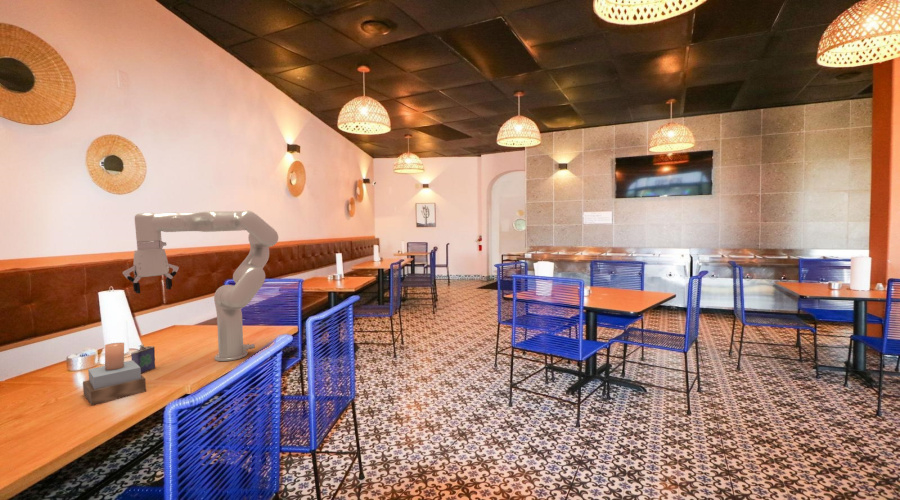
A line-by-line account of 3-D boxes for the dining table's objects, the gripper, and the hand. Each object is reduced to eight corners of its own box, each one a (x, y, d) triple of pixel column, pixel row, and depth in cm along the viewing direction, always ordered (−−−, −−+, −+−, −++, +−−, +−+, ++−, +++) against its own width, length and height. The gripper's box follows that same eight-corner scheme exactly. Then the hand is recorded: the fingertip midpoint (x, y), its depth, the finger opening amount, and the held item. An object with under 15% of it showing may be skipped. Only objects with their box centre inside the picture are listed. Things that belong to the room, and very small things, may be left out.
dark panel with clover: (136, 376, 151) (134, 348, 150) (129, 375, 151) (127, 348, 150) (157, 367, 160) (155, 341, 159) (151, 367, 160) (149, 341, 160)
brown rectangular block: (121, 364, 138) (121, 341, 138) (125, 367, 135) (126, 343, 135) (103, 368, 134) (103, 344, 134) (107, 370, 131) (107, 346, 131)
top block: (133, 371, 143) (132, 360, 143) (141, 378, 135) (140, 367, 135) (88, 380, 134) (88, 369, 134) (94, 389, 126) (93, 377, 126)
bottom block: (135, 383, 145) (134, 369, 144) (146, 392, 136) (145, 378, 136) (83, 396, 134) (82, 381, 134) (92, 407, 125) (91, 391, 125)
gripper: (173, 244, 157) (176, 286, 158) (117, 247, 144) (122, 294, 145) (179, 244, 153) (183, 288, 154) (123, 248, 139) (127, 295, 140)
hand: (153, 291), depth 149 cm, fingers open, 9 cm apart
